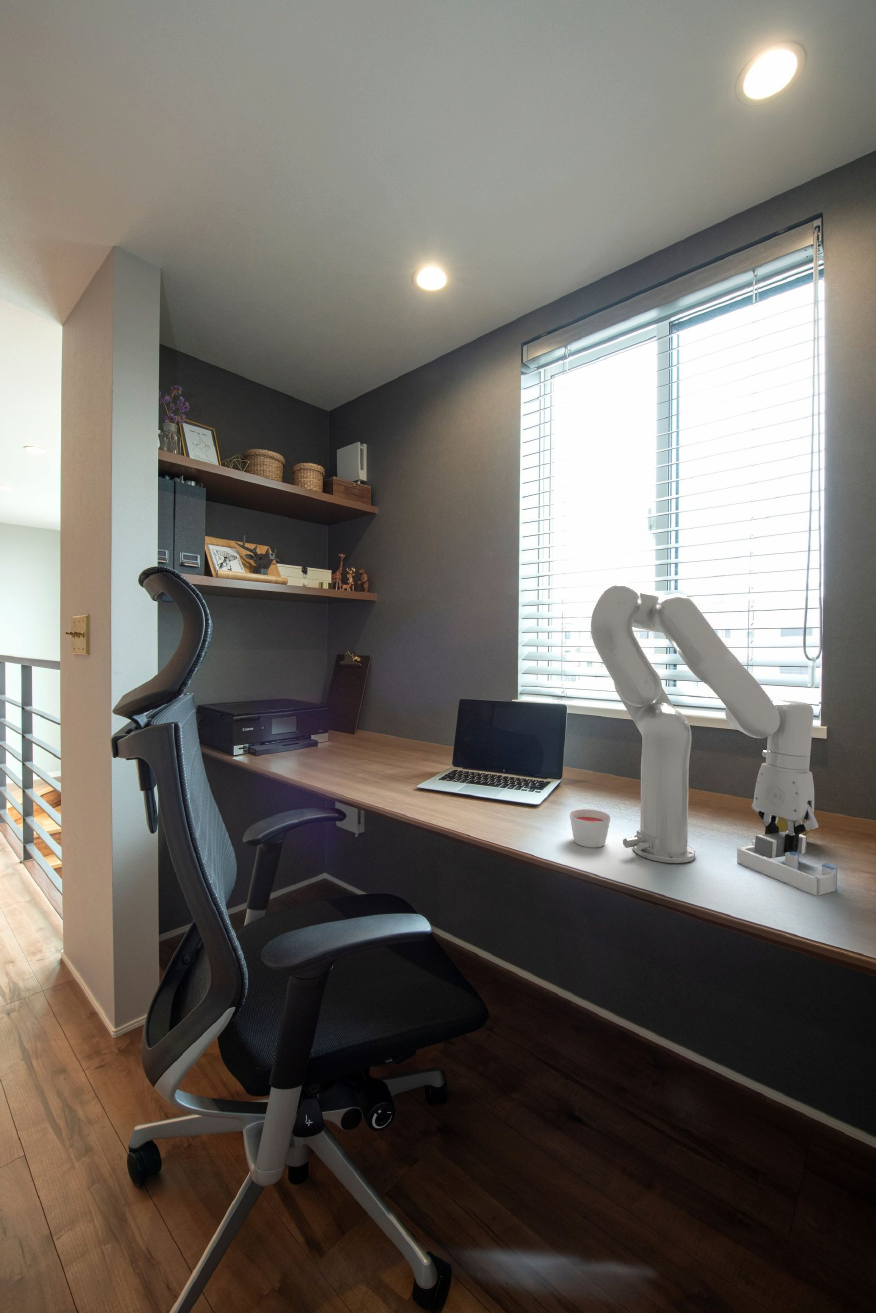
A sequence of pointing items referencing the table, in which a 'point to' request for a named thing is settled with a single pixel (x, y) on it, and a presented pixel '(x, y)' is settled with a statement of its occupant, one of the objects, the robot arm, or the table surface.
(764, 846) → the white-capped gray brick
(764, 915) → the table surface
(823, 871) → the white arch handle
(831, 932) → the table surface
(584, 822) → the candle
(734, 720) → the robot arm
